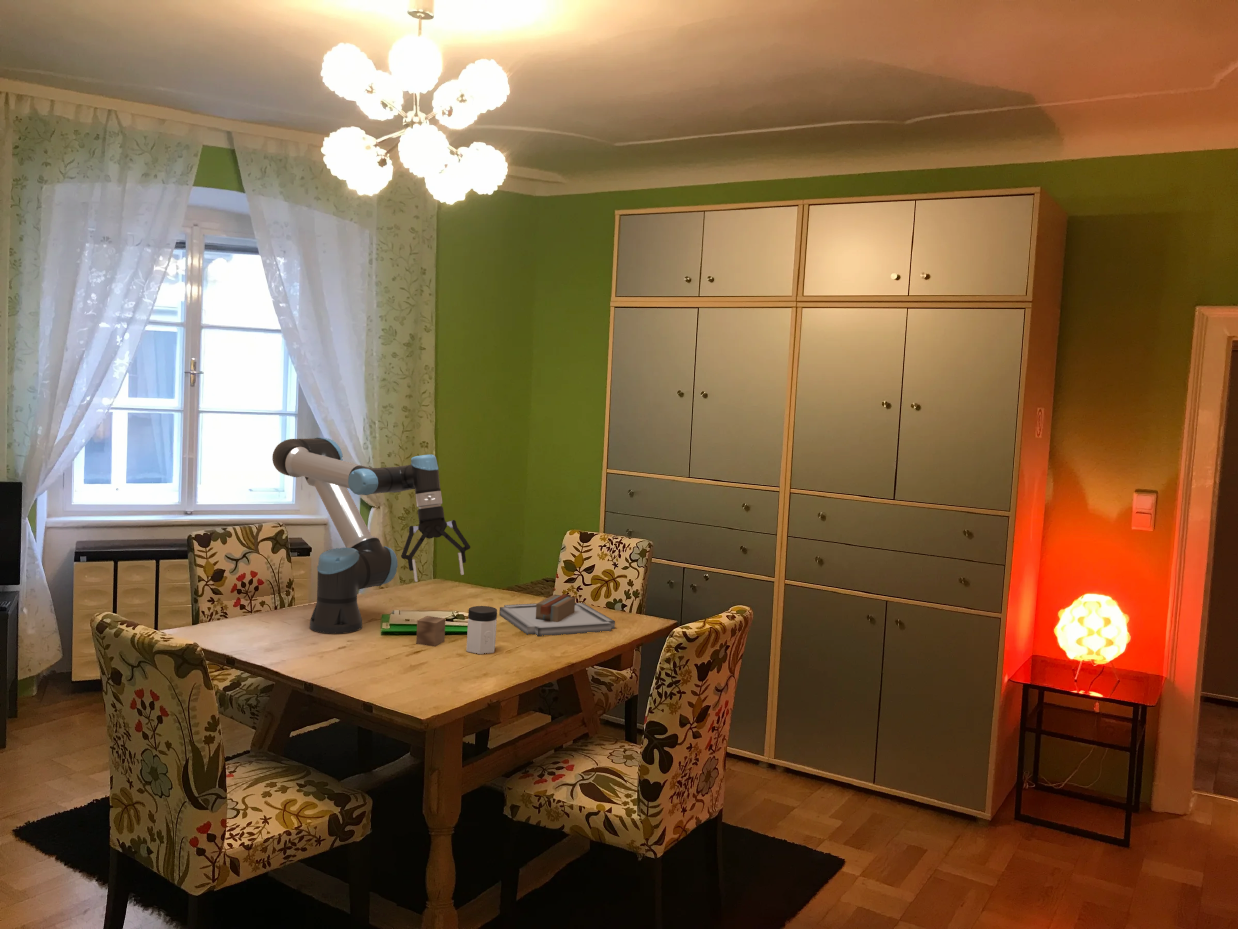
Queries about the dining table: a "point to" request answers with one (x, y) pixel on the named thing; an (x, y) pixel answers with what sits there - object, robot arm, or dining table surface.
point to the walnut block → (430, 631)
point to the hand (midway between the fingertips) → (439, 578)
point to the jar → (481, 629)
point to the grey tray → (556, 617)
